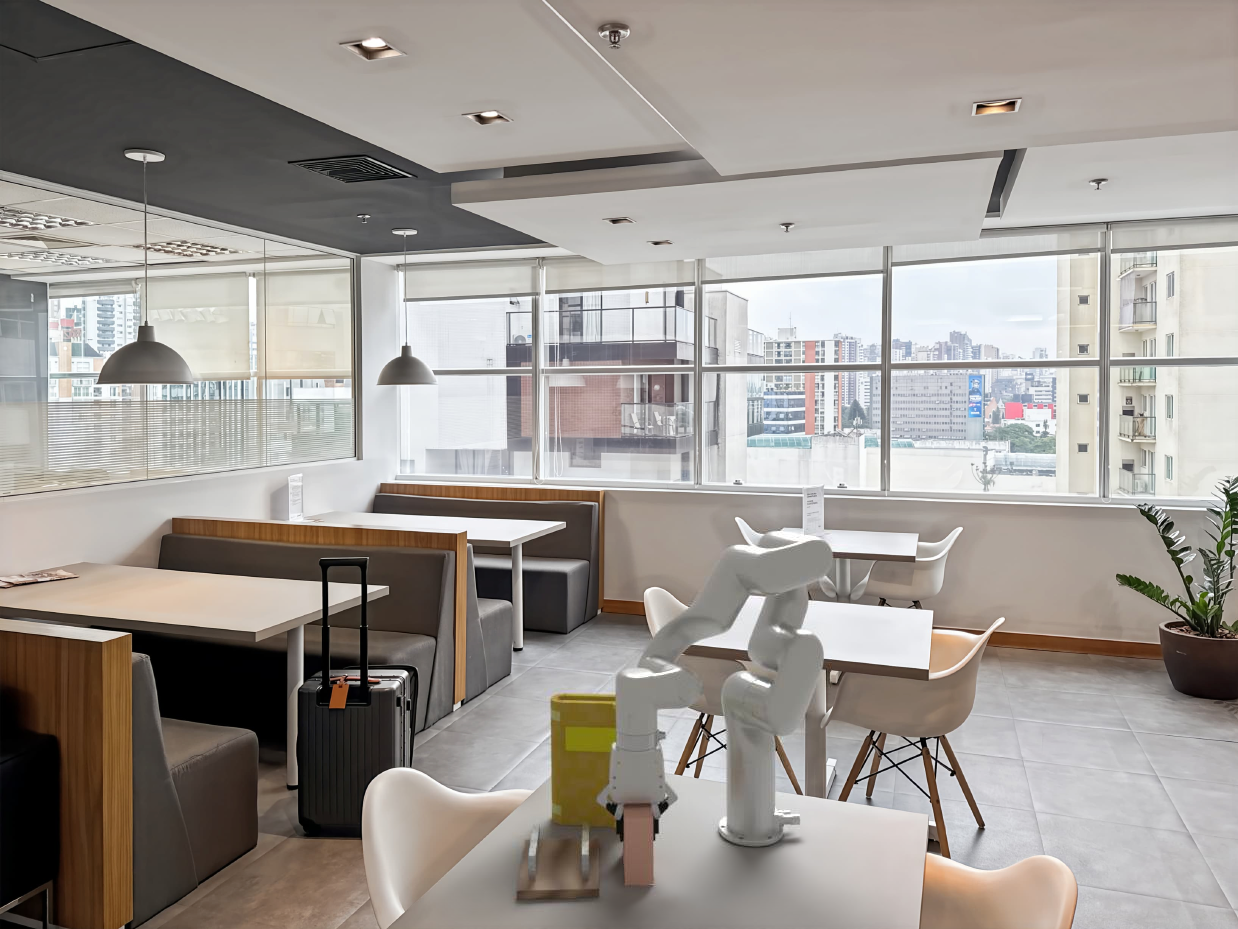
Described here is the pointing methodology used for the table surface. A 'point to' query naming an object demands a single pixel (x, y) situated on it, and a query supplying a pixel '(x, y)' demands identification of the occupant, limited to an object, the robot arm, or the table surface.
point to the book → (581, 756)
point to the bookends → (535, 850)
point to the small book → (638, 844)
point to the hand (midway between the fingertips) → (637, 836)
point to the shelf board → (560, 870)
